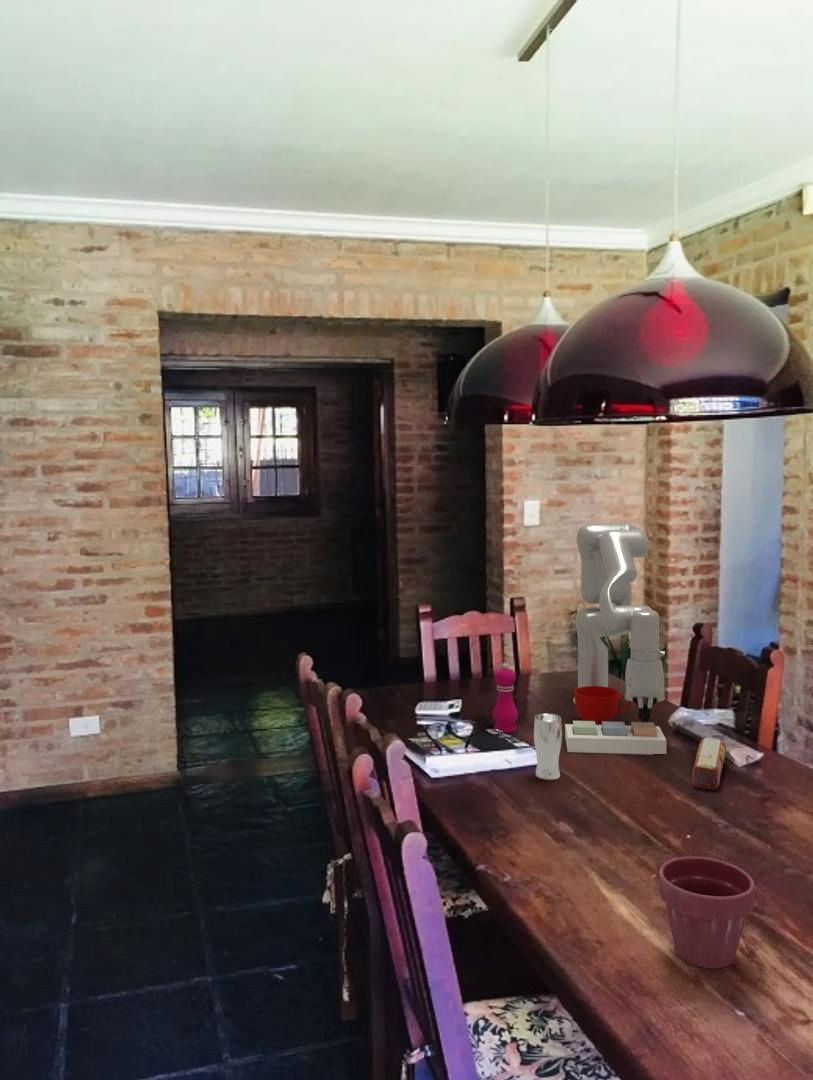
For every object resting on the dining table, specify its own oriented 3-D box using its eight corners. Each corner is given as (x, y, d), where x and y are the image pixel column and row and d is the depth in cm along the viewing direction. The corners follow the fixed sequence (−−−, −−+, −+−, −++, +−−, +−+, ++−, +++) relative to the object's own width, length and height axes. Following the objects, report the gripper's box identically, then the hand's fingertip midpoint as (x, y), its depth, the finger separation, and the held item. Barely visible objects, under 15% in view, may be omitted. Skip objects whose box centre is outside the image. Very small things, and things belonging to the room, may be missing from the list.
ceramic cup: (636, 730, 246) (637, 697, 245) (578, 731, 246) (578, 697, 245) (626, 717, 258) (626, 685, 258) (570, 717, 259) (571, 686, 258)
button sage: (572, 729, 236) (572, 720, 236) (594, 729, 236) (594, 721, 235) (574, 736, 230) (574, 727, 230) (596, 736, 230) (596, 727, 229)
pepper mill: (509, 735, 243) (509, 667, 241) (488, 730, 247) (488, 664, 246) (522, 728, 249) (522, 662, 247) (501, 724, 253) (500, 659, 251)
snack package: (719, 793, 199) (719, 765, 198) (690, 789, 202) (690, 761, 201) (725, 763, 218) (726, 738, 218) (699, 760, 221) (699, 735, 220)
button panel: (565, 737, 240) (565, 724, 240) (658, 740, 237) (658, 726, 236) (567, 752, 228) (567, 737, 228) (666, 754, 225) (666, 740, 224)
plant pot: (723, 924, 142) (724, 851, 141) (771, 973, 128) (773, 893, 127) (643, 932, 140) (644, 858, 139) (683, 983, 126) (685, 902, 125)
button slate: (601, 730, 235) (602, 721, 235) (623, 730, 235) (623, 721, 234) (604, 736, 229) (604, 728, 229) (626, 737, 229) (626, 728, 228)
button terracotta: (631, 730, 234) (631, 722, 234) (653, 731, 234) (653, 722, 233) (634, 737, 228) (634, 728, 228) (656, 738, 228) (657, 729, 227)
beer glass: (529, 778, 210) (529, 719, 208) (539, 769, 216) (539, 712, 214) (556, 782, 206) (556, 723, 205) (565, 773, 213) (565, 715, 211)
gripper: (670, 652, 232) (670, 717, 233) (615, 652, 234) (615, 716, 235) (675, 658, 224) (675, 725, 226) (618, 658, 226) (618, 724, 228)
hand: (644, 721), depth 230 cm, fingers closed
